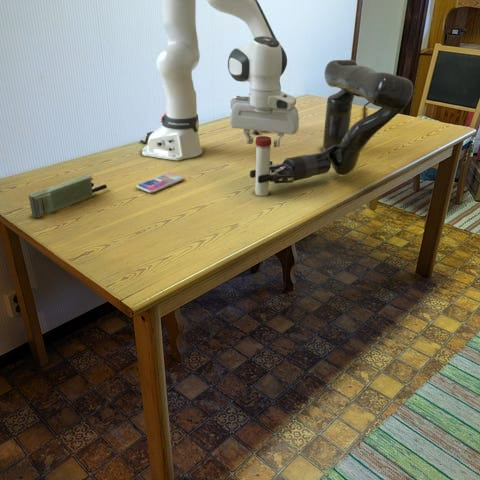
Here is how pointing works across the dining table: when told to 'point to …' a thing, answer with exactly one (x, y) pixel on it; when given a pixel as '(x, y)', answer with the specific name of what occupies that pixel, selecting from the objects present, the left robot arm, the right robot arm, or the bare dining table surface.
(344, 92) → the right robot arm
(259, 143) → the lid
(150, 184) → the smartphone
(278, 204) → the dining table surface
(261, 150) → the white bottle
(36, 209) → the handheld radio
